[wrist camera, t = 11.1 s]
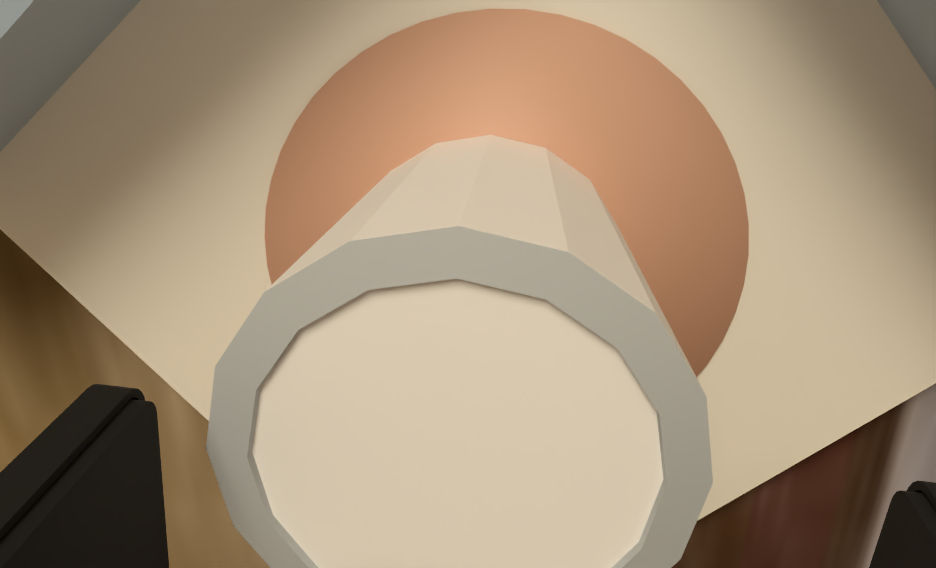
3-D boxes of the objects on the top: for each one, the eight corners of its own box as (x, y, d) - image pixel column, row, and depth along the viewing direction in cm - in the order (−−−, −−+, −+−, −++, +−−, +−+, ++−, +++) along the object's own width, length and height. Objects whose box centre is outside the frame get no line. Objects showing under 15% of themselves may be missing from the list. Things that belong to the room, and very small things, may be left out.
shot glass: (494, 26, 16) (459, 108, 9) (722, 280, 17) (826, 496, 11) (258, 255, 18) (101, 447, 12) (480, 460, 20) (449, 725, 13)
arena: (1137, 244, 17) (1352, 365, 13) (465, 637, 23) (445, 818, 18) (588, -642, 12) (614, -961, 8) (-81, 129, 18) (-289, 203, 14)
